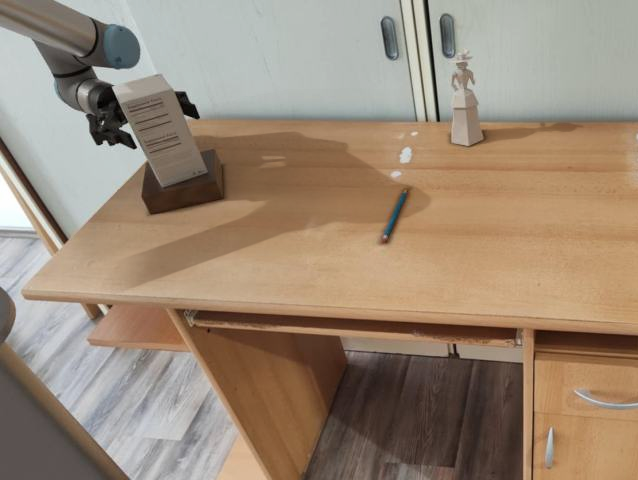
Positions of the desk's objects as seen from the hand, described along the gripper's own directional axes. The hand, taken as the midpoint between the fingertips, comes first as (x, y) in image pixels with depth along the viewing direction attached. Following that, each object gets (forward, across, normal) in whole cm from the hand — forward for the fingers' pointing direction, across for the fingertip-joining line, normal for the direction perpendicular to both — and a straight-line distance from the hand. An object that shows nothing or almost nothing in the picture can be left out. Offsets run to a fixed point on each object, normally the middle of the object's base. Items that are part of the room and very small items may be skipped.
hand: (165, 126), depth 108 cm
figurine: (+34, -46, -14) cm, 59 cm away
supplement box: (-3, 0, -10) cm, 11 cm away
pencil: (+41, -16, -14) cm, 46 cm away
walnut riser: (-3, 0, -14) cm, 14 cm away
